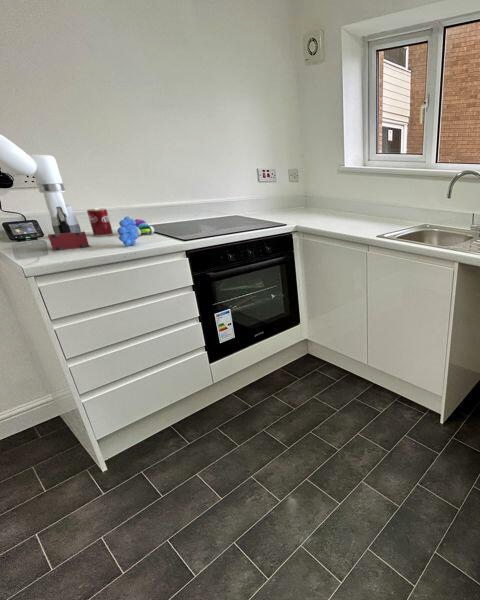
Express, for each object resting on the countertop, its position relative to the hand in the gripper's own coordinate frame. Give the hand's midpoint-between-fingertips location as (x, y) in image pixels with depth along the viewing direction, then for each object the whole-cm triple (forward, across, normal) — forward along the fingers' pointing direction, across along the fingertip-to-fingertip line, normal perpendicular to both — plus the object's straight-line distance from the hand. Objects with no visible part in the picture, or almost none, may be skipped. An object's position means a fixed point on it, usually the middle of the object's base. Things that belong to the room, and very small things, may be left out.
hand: (66, 234), depth 145 cm
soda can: (+5, -18, +14) cm, 23 cm away
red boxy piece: (+5, +5, 0) cm, 7 cm away
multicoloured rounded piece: (+5, -10, +28) cm, 30 cm away
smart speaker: (+5, -22, +2) cm, 23 cm away
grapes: (+5, +14, +18) cm, 23 cm away
